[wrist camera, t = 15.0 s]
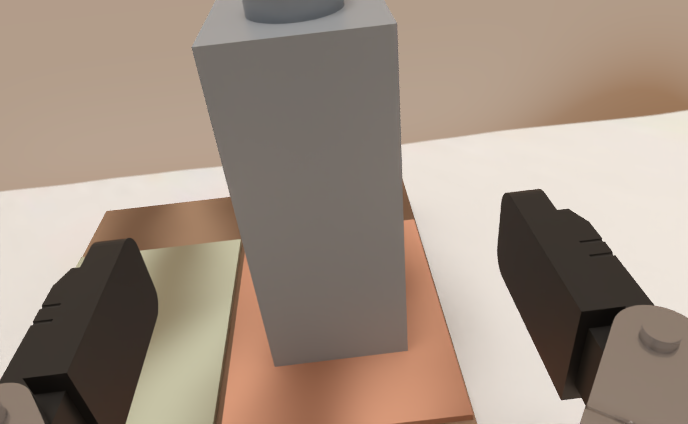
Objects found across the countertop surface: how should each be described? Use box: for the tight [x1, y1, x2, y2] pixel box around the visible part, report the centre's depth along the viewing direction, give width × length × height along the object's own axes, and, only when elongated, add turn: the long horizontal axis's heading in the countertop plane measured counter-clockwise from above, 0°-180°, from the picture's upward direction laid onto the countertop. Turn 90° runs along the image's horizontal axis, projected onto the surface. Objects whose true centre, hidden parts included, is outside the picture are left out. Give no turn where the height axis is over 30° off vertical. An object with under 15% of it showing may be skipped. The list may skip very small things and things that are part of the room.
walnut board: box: [76, 179, 477, 424], centre depth 22 cm, size 17×20×2 cm
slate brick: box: [192, 0, 408, 367], centre depth 18 cm, size 5×5×13 cm
